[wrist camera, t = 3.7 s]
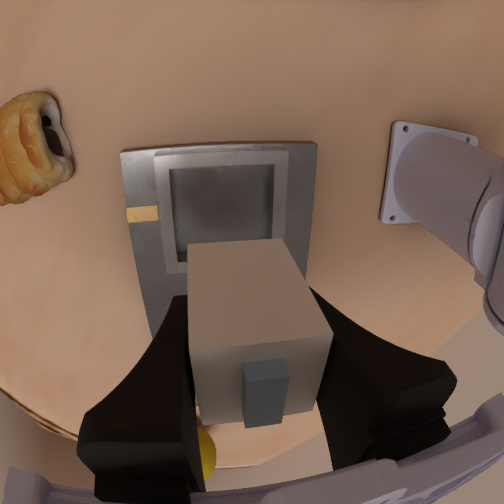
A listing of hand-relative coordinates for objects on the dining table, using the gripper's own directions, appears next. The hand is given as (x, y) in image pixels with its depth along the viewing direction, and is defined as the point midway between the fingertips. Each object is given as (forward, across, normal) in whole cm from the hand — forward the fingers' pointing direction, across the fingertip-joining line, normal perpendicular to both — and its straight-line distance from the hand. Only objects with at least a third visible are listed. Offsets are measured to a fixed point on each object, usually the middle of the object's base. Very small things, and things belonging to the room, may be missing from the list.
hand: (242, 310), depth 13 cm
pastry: (+10, +14, -6) cm, 18 cm away
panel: (+10, 0, +7) cm, 12 cm away
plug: (+2, 0, 0) cm, 2 cm away
